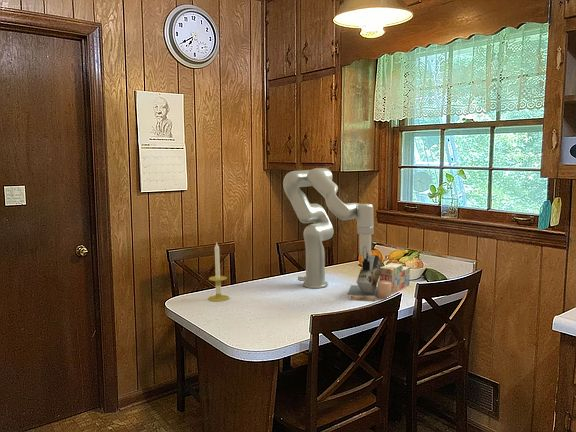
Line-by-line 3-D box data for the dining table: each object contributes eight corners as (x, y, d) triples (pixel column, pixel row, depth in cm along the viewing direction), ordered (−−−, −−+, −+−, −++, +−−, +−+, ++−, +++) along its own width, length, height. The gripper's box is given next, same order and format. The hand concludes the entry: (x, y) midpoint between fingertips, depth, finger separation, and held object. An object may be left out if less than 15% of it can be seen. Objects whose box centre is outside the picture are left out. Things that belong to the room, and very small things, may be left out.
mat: (347, 294, 227) (347, 294, 227) (351, 286, 242) (351, 285, 242) (381, 296, 223) (381, 295, 223) (383, 287, 239) (383, 286, 238)
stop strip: (350, 300, 218) (350, 296, 218) (350, 299, 220) (350, 295, 219) (375, 301, 216) (375, 297, 216) (375, 300, 217) (375, 296, 217)
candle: (214, 294, 231) (212, 239, 228) (233, 296, 228) (231, 240, 225) (203, 300, 222) (201, 243, 219) (223, 302, 219) (221, 244, 215)
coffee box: (368, 283, 220) (378, 254, 228) (355, 282, 223) (365, 254, 232) (374, 294, 226) (383, 266, 234) (361, 292, 229) (370, 265, 238)
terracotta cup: (376, 298, 220) (377, 283, 218) (377, 293, 226) (378, 279, 224) (390, 299, 218) (391, 285, 217) (390, 295, 224) (391, 280, 223)
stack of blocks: (397, 283, 246) (398, 259, 244) (409, 285, 242) (410, 261, 240) (378, 292, 229) (379, 267, 227) (391, 294, 225) (392, 269, 223)
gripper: (359, 228, 231) (359, 266, 233) (355, 232, 216) (356, 273, 218) (374, 228, 229) (375, 266, 231) (372, 232, 215) (373, 273, 216)
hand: (366, 269), depth 225 cm, fingers closed
